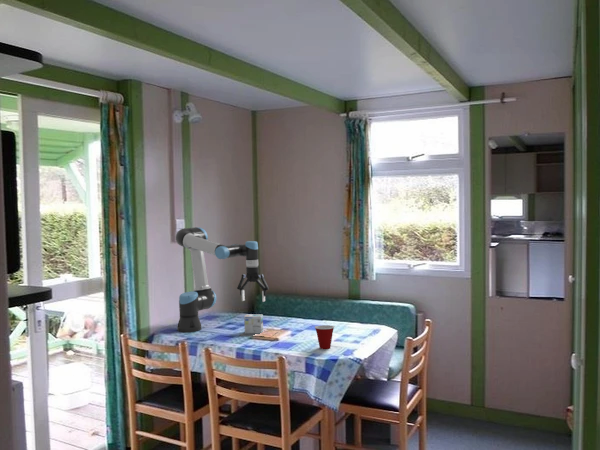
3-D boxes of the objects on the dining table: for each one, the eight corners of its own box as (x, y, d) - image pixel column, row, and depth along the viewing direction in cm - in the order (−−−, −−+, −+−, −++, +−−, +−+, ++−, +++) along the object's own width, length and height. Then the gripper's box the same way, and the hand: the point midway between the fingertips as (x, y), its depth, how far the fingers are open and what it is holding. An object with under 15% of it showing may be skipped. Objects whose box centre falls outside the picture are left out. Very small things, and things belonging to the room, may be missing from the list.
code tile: (239, 335, 314) (239, 335, 314) (248, 330, 327) (248, 329, 327) (270, 337, 307) (270, 337, 307) (278, 331, 321) (278, 331, 321)
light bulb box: (263, 331, 323) (263, 313, 322) (261, 333, 316) (261, 316, 315) (246, 331, 324) (246, 313, 323) (244, 333, 317) (243, 316, 316)
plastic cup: (333, 344, 289) (333, 323, 288) (335, 350, 278) (335, 328, 278) (314, 345, 289) (314, 324, 288) (315, 351, 278) (315, 328, 277)
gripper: (231, 267, 318) (232, 301, 319) (269, 267, 310) (270, 302, 311) (236, 265, 325) (237, 299, 326) (273, 265, 318) (274, 300, 318)
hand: (253, 301), depth 319 cm, fingers open, 13 cm apart
